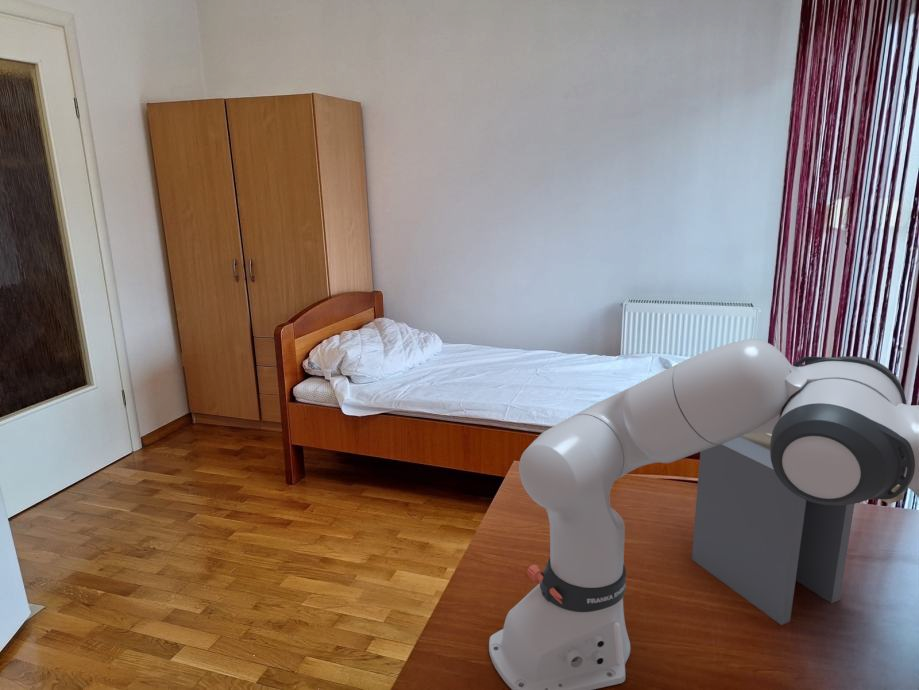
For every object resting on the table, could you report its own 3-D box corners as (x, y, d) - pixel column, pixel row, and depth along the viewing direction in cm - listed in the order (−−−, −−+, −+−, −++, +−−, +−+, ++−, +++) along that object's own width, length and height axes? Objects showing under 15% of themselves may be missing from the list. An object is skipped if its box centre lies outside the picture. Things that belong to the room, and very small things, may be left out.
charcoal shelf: (781, 625, 102) (799, 482, 95) (691, 559, 120) (701, 434, 113) (839, 600, 108) (861, 462, 101) (745, 540, 125) (758, 420, 118)
